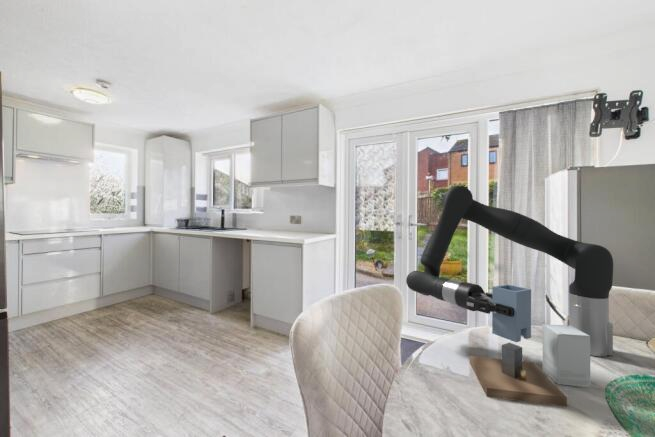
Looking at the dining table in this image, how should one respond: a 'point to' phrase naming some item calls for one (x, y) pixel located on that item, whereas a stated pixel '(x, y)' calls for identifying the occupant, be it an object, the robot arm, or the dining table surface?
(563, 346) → the supplement box
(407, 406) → the dining table surface
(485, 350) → the dining table surface
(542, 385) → the base plate
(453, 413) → the dining table surface
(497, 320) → the sleeve
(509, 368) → the post
